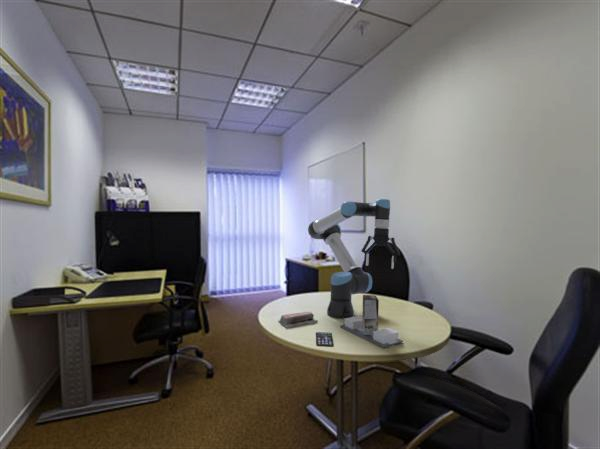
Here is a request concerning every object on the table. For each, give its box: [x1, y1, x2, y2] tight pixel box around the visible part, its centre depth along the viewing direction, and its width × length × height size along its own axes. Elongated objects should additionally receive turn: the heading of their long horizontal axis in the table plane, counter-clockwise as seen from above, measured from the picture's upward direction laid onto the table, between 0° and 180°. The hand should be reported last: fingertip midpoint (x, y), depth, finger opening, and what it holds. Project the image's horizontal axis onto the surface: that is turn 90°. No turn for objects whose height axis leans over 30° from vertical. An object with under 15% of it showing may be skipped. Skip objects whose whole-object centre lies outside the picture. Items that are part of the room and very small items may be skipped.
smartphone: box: [315, 331, 334, 348], centre depth 129 cm, size 7×1×15 cm
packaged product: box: [277, 311, 319, 329], centre depth 150 cm, size 18×5×10 cm
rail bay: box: [339, 315, 404, 349], centre depth 136 cm, size 28×12×4 cm, turn 32°
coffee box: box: [361, 294, 380, 335], centre depth 136 cm, size 9×6×16 cm
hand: (379, 266), depth 159 cm, fingers open, 13 cm apart
